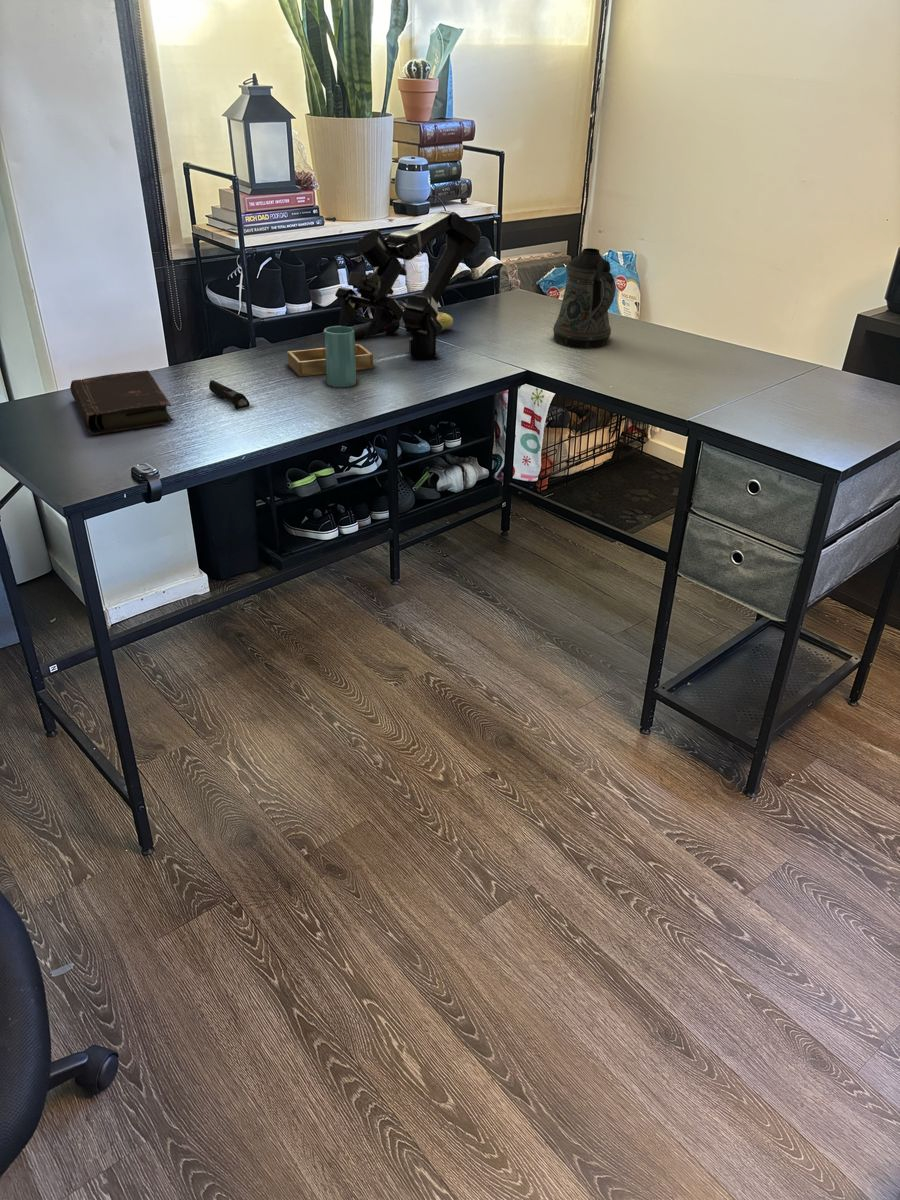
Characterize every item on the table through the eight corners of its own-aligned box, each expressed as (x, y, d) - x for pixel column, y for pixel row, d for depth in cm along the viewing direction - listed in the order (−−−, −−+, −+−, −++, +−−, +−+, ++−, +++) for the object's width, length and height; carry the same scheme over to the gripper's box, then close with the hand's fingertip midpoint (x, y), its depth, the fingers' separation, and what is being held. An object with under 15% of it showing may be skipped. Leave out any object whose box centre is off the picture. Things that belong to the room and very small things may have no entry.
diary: (88, 436, 187) (83, 413, 184) (72, 400, 205) (68, 379, 203) (177, 423, 194) (174, 401, 191) (154, 390, 213) (151, 369, 210)
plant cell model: (461, 324, 260) (420, 310, 251) (449, 347, 263) (408, 335, 254) (445, 307, 267) (404, 293, 257) (434, 331, 270) (393, 318, 261)
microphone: (341, 353, 252) (402, 335, 260) (341, 335, 248) (403, 318, 255) (333, 342, 255) (393, 325, 262) (332, 325, 250) (394, 308, 258)
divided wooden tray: (360, 357, 239) (359, 343, 237) (373, 368, 231) (373, 354, 229) (288, 365, 232) (287, 351, 230) (299, 376, 224) (298, 362, 222)
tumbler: (354, 377, 224) (352, 325, 217) (357, 386, 218) (355, 333, 211) (325, 378, 222) (322, 326, 216) (328, 388, 216) (325, 334, 210)
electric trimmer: (220, 390, 214) (218, 377, 212) (251, 407, 204) (249, 393, 202) (206, 393, 212) (204, 380, 210) (236, 410, 202) (235, 397, 200)
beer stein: (570, 329, 266) (577, 241, 253) (628, 341, 257) (639, 250, 244) (541, 341, 255) (548, 249, 242) (602, 354, 245) (612, 259, 232)
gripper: (338, 252, 217) (308, 306, 215) (394, 263, 207) (363, 320, 205) (362, 281, 226) (333, 333, 225) (417, 293, 216) (386, 347, 215)
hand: (352, 332), depth 217 cm, fingers open, 9 cm apart
